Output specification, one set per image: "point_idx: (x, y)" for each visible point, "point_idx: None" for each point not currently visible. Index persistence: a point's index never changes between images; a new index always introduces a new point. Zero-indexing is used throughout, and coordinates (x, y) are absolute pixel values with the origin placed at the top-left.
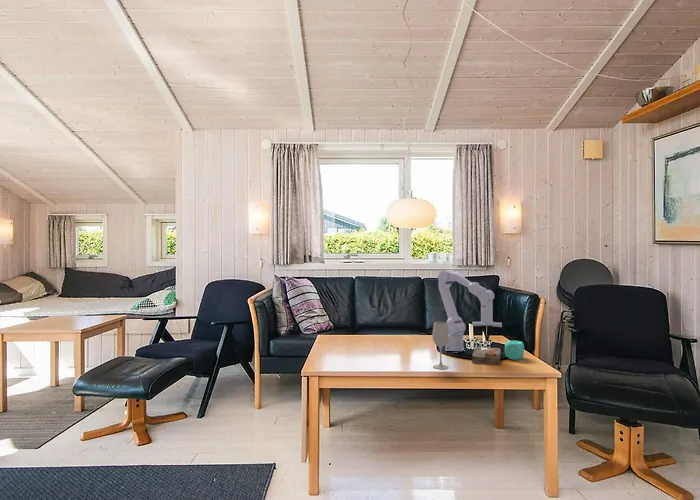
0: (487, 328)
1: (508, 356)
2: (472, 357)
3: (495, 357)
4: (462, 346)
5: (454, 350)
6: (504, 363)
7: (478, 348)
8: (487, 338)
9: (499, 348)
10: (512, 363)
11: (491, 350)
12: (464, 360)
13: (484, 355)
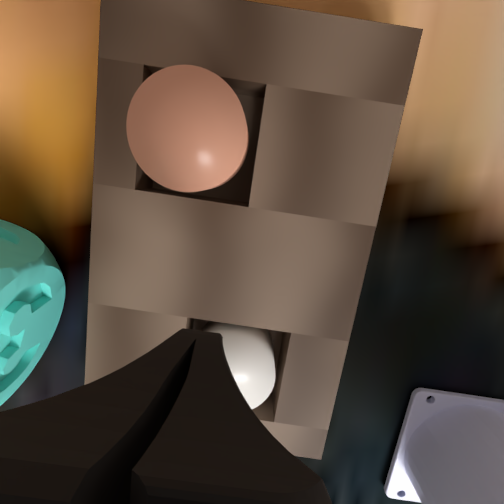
0: (79, 468)
1: (31, 238)
2: (412, 34)
3: (152, 11)
4: (437, 460)
5: (496, 414)
6: (88, 67)
7: (292, 401)
8: (186, 339)
9: None
10: (16, 78)
11: (175, 103)
12: (452, 131)
13: (269, 96)
